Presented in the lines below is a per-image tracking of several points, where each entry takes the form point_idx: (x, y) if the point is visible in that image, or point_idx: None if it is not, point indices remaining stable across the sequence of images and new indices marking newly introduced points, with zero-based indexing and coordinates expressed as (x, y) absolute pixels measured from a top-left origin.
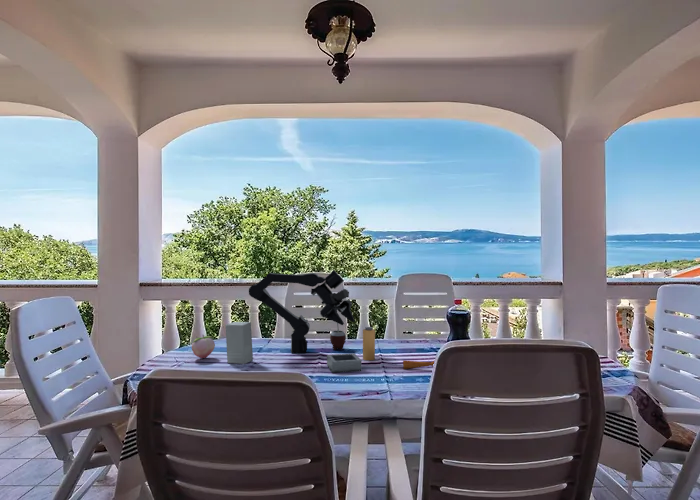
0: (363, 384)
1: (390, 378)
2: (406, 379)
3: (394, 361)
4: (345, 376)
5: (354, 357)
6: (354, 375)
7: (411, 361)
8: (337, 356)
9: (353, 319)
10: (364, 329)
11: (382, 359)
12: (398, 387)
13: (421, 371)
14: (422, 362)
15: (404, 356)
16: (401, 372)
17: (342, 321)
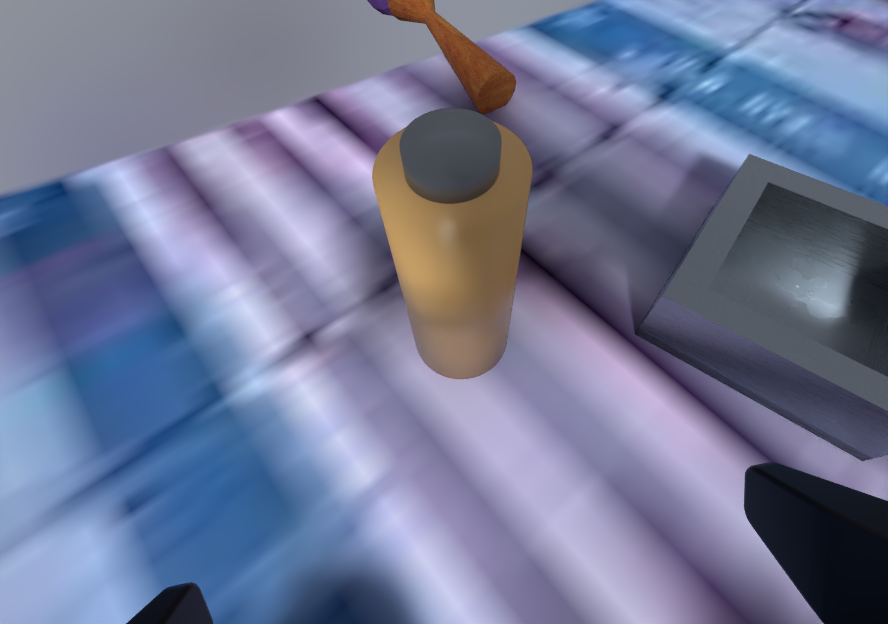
0: (841, 92)
1: (670, 73)
2: (623, 39)
3: None
4: None
5: (746, 220)
6: None
7: (479, 50)
8: (835, 358)
9: (175, 611)
10: (466, 215)
11: None
12: (726, 14)
13: None
14: (451, 26)
15: (259, 218)
16: (557, 88)
17: (828, 487)
